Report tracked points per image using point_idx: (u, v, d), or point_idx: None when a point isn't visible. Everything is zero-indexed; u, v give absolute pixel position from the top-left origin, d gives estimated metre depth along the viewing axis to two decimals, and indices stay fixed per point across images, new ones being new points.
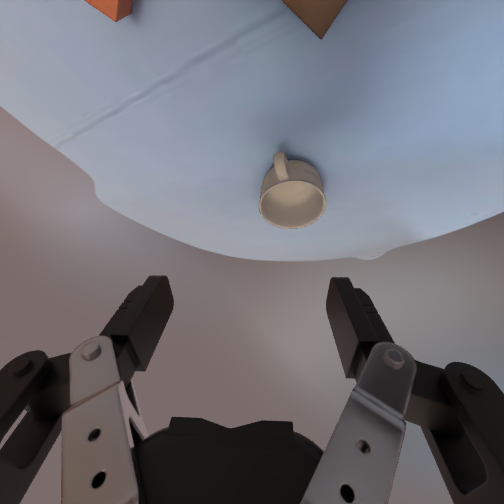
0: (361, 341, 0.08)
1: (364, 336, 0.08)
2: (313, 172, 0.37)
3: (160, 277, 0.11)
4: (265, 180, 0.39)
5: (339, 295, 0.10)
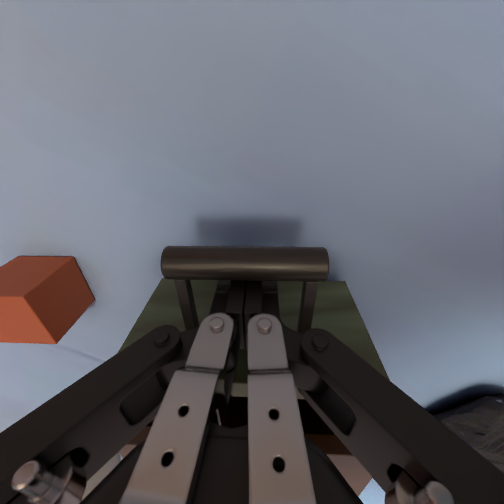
0: (246, 313, 0.09)
1: (250, 309, 0.09)
2: None
3: None
4: None
5: None
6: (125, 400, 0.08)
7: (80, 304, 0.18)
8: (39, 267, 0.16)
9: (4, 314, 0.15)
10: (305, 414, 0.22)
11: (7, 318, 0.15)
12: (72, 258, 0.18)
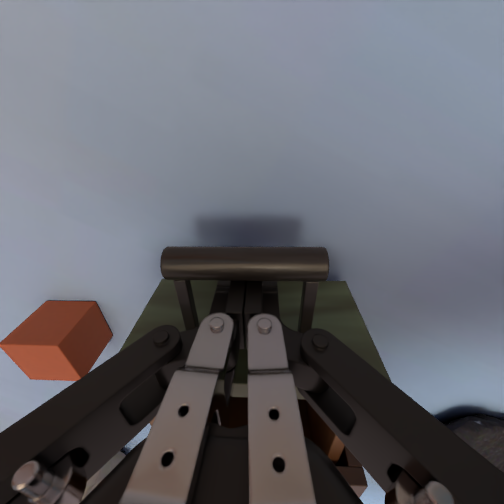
0: (246, 313, 0.09)
1: (251, 309, 0.09)
2: None
3: None
4: None
5: None
6: (125, 400, 0.08)
7: (101, 342, 0.21)
8: (67, 313, 0.19)
9: (39, 358, 0.17)
10: (306, 414, 0.22)
11: (41, 362, 0.17)
12: (94, 303, 0.20)
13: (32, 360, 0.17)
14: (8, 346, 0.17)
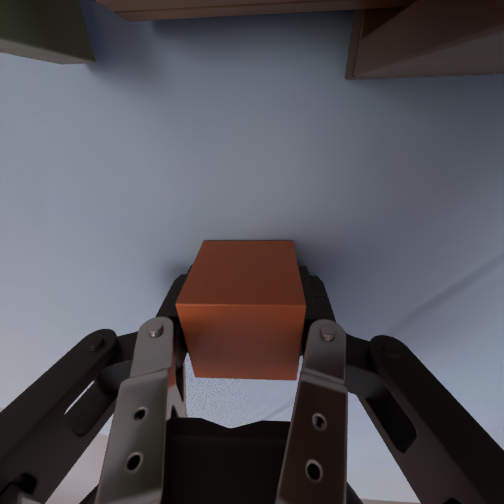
0: None
1: (307, 315, 0.09)
2: None
3: None
4: None
5: None
6: (66, 419, 0.08)
7: (276, 255, 0.10)
8: None
9: (224, 344, 0.09)
10: None
11: (235, 345, 0.09)
12: (204, 242, 0.11)
13: (231, 355, 0.09)
14: (196, 368, 0.10)
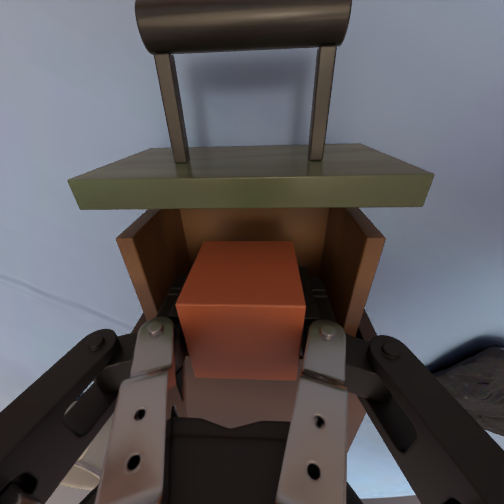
0: None
1: (307, 315, 0.09)
2: None
3: None
4: None
5: None
6: (66, 419, 0.08)
7: (276, 256, 0.10)
8: None
9: (224, 344, 0.09)
10: None
11: (235, 346, 0.09)
12: (204, 242, 0.11)
13: (230, 355, 0.09)
14: (196, 368, 0.10)
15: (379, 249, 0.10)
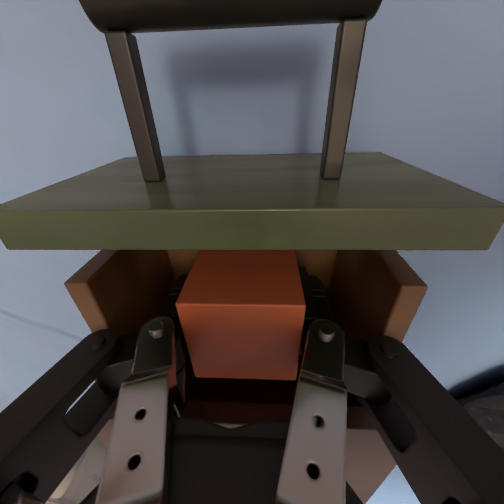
0: None
1: (306, 315, 0.09)
2: None
3: None
4: None
5: None
6: (67, 419, 0.08)
7: (276, 255, 0.10)
8: None
9: (224, 344, 0.09)
10: None
11: (235, 345, 0.09)
12: None
13: (230, 355, 0.09)
14: (196, 368, 0.10)
15: (417, 300, 0.07)
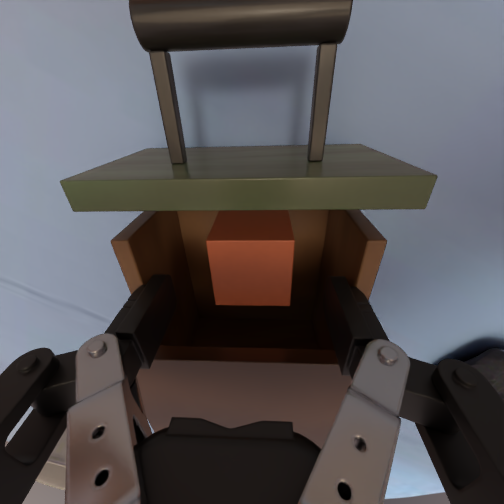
0: (356, 338, 0.08)
1: (359, 334, 0.08)
2: None
3: (164, 276, 0.11)
4: None
5: (335, 293, 0.10)
6: None
7: (275, 215, 0.14)
8: None
9: (238, 274, 0.13)
10: (313, 332, 0.19)
11: (246, 275, 0.13)
12: None
13: (242, 283, 0.13)
14: (217, 296, 0.14)
15: (380, 252, 0.10)
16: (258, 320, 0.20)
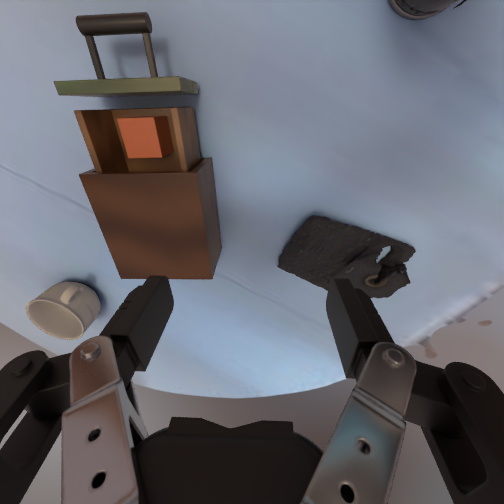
0: (361, 341, 0.08)
1: (364, 336, 0.08)
2: (93, 309, 0.47)
3: (160, 277, 0.11)
4: (55, 288, 0.45)
5: (339, 295, 0.10)
6: None
7: None
8: None
9: (134, 137, 0.28)
10: None
11: (137, 138, 0.28)
12: None
13: (137, 143, 0.29)
14: (127, 152, 0.29)
15: (176, 113, 0.25)
16: None
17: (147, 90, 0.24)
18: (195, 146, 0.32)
